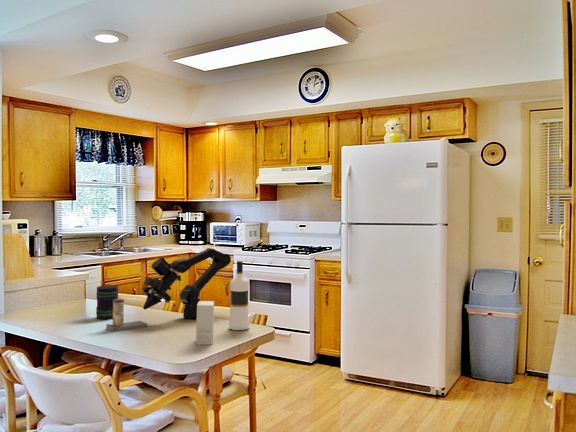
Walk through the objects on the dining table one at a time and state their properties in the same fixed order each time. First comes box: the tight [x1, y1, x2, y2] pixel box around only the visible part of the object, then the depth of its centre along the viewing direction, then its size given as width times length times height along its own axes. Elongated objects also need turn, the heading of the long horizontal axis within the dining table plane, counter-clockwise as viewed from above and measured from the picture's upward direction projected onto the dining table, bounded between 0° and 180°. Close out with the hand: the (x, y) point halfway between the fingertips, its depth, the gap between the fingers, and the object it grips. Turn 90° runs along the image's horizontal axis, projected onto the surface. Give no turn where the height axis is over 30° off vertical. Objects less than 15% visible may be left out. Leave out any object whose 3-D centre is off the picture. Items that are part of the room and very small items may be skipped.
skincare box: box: [195, 300, 215, 346], centre depth 194 cm, size 8×7×16 cm
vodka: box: [228, 260, 250, 331], centre depth 217 cm, size 9×9×30 cm
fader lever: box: [112, 298, 125, 326], centre depth 213 cm, size 3×4×11 cm
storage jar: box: [95, 285, 119, 321], centre depth 236 cm, size 10×10×15 cm
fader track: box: [105, 320, 148, 333], centre depth 216 cm, size 16×7×2 cm, turn 133°
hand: (143, 308), depth 221 cm, fingers closed
